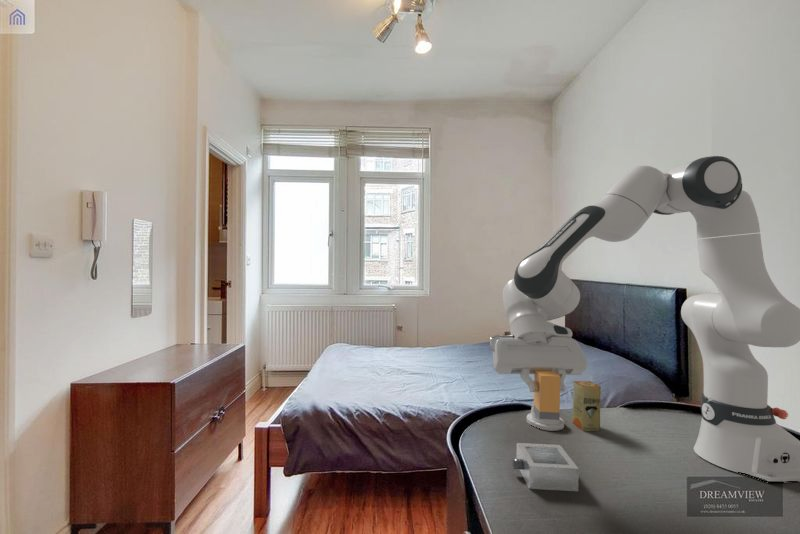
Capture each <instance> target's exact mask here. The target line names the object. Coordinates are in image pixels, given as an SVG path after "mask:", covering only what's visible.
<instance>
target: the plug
mask: <svg viewBox="0 0 800 534" xmlns="http://www.w3.org/2000/svg"><path fill="white" fill-rule="evenodd" d="M533 376H534V377H533V378H534V379H533V381H537V382H538V386H539V391H538V392H533V406H534V413H535V414H536V415H537V416H538V418H539V419H550V420H559V412H560V409H561V408H560V405H561V404H560V403H561V401H560V400H561V393H560V376H559V375H558V374H557V373H555V372H554V371H543V370H535V374H533ZM560 413H561V412H560Z"/></svg>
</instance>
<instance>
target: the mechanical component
mask: <svg viewBox="0 0 800 534" xmlns="http://www.w3.org/2000/svg"><path fill="white" fill-rule="evenodd" d="M530 410H531V411H530V413H528V414H527V415H526V423H528V425H530V426H531V425H532V427H533V426H534V428H536V427H537V428H536V429H539V428H540V429H539V430H543V431H550V432H554V431H555V432H556V431H561V430H563V429H564V428H565V421H564V420H563V419H562V418H561V417H560V415H561V414H560V413H561V412H559V420H550V419H539V418H538V416H537V415H536V414H535V413H534V405H532V406H531V409H530Z"/></svg>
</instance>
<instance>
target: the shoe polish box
mask: <svg viewBox="0 0 800 534" xmlns="http://www.w3.org/2000/svg"><path fill="white" fill-rule="evenodd" d="M572 384H573V389H572V390H573V392H572V393H573V394H572V424H573V425H574V426H576V427H577V428H578V429H580V430H581V431H583V432H584V431H588V432H590V431H591V432H592V431H593V432H594V431H595V432H597V431H601V430H600V429H601V426H600V425H601V396H602V395H601V394H602V392H601V387H602V386H600V385H598V384H596V383H594V382H592V381H590V380H589V381H587V380H586V381H585V380H584V381H583V380H582V381H581V380H579V381H578V380H575V381H573V383H572Z"/></svg>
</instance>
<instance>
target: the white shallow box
mask: <svg viewBox="0 0 800 534" xmlns="http://www.w3.org/2000/svg"><path fill="white" fill-rule="evenodd" d="M515 454H516V457H515V458H512V459H511V466H512V469H513V470H519V471H520V473H521V476H522V477H523V479H524V482H525V484H526V485H527V488H528V489H530V490H546V491H562V492H564V491H565V492H579V474H580V473H579V470H580V469H579V467H578V466H577V465H576V463H575V462H574V461H573V459H572V458H571V457H570V456H569V454H568V453H567V452H566V451H565V449H564V448H563V447H562V445H561V444H550V443H549V444H547V443H546V444H545V443H530V442H529V443H527V442H525V443H524V442H516V453H515Z"/></svg>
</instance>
